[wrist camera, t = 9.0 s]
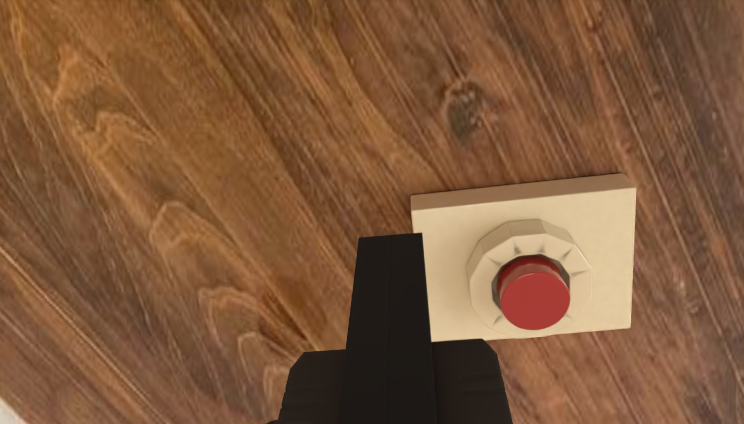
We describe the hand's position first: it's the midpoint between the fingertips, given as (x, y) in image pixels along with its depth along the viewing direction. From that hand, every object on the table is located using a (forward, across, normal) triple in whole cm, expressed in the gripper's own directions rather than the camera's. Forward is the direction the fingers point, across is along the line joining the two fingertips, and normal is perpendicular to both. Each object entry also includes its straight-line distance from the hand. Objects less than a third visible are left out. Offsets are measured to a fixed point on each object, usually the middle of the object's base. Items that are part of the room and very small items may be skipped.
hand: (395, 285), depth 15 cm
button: (+17, +6, -11) cm, 21 cm away
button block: (+21, +6, -11) cm, 24 cm away
